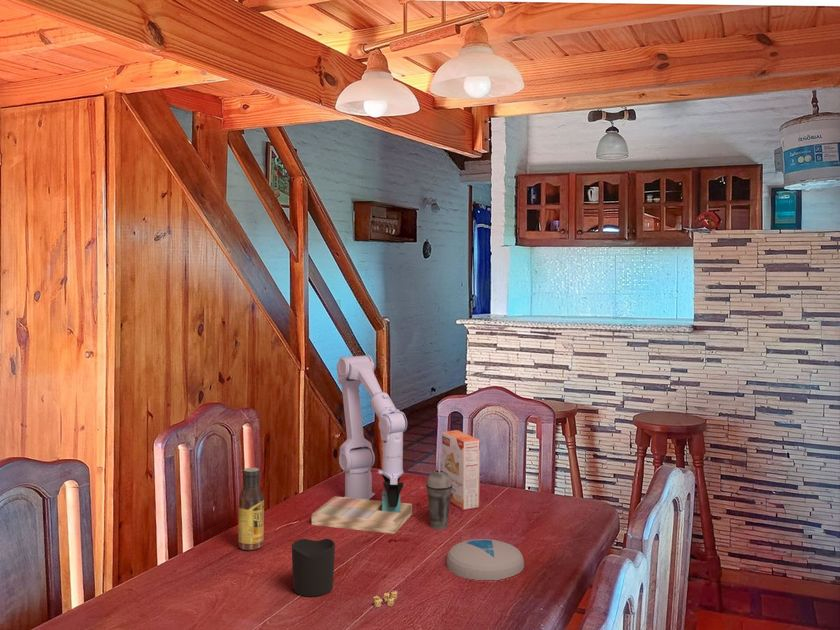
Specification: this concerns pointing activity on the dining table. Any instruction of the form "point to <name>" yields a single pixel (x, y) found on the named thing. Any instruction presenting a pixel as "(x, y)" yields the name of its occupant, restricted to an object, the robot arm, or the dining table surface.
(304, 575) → the pen holder
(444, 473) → the beverage cup
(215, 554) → the dining table surface
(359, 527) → the puzzle board
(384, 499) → the teal block
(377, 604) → the popcorn pieces
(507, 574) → the grey thick round disc
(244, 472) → the sauce bottle
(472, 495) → the cracker box
